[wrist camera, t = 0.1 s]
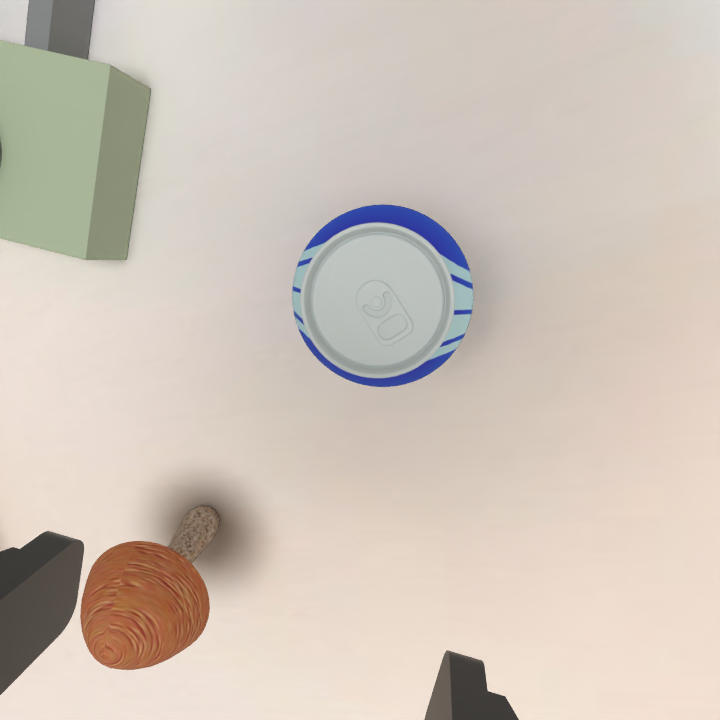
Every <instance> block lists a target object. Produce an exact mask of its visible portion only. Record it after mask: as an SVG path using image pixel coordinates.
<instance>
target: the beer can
mask: <svg viewBox="0 0 720 720" xmlns="http://www.w3.org/2000/svg"><path fill="white" fill-rule="evenodd" d="M292 299H293V309H294V315H295V319H296V323H297V326H298V328H299V331H300V333H301V335H302V338H303V339H304V341H305V343H306V344H307V346H308V347H309V349H310V350H311V352H312V353H313V354H314V355H315V356H316V358H317V359H318V360H319V361H320V362H321V363H323V364H324V365H325V366H326V367H327V368H329V369H330V370H331V371H333V372H334V373H336V374H337V375H339V376H341V377H343V378H345V379H348V380H350V381H353V382H356V383H359V384H363V385H368V386H376V387H390V386H398V385H403V384H407V383H410V382H413V381H416V380H418V379H421V378H423V377H424V376H426V375H428V374H430V373H431V372H433V371H434V370H436V369H437V368H438V367H440V366H441V365H442V364H443V363H444V362H445V361H446V360H447V359H448V358H449V357H450V356H451V355H452V354H453V352H454V351H455V350H456V348H457V347H458V345H459V344H460V342H461V340H462V339H463V337H464V335H465V332H466V330H467V328H468V325H469V321H470V318H471V313H472V307H473V284H472V278H471V273H470V270H469V267H468V264H467V261H466V259H465V257H464V255H463V253H462V251H461V249H460V247H459V246H458V244H457V243H456V242H455V240H454V239H453V238H452V237H451V235H450V234H449V233H448V232H447V231H446V230H445V229H444V228H443V227H442V226H440V225H439V224H438V223H436V222H435V221H434V220H432V219H431V218H429V217H427V216H425V215H423V214H421V213H419V212H417V211H414V210H412V209H409V208H405V207H401V206H394V205H372V206H365V207H361V208H357V209H354V210H352V211H349V212H346V213H344V214H342V215H340V216H338V217H337V218H335V219H334V220H332V221H331V222H329V223H328V224H327V225H325V226H324V227H323V228H322V229H321V230H320V231H319V232H318V233H317V234H316V235H315V236H314V237H313V238H312V240H311V241H310V243H309V244H308V245H307V247H306V249H305V250H304V252H303V254H302V256H301V258H300V260H299V263H298V266H297V269H296V272H295V276H294V282H293V293H292Z"/></svg>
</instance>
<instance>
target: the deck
mask: <svg viewBox="0 0 720 720" xmlns="http://www.w3.org/2000/svg"><path fill="white" fill-rule="evenodd" d="M94 1H95V0H29V5H28V15H27V25H26V35H25V46H23V45H19V44H14V43H10V42H5V41H1V40H0V238H1V239H5V240H9V241H13V242H17V243H21V244H25V245H29V246H33V247H37V248H41V249H44V250H48V251H52V252H56V253H60V254H64V255H68V256H72V257H76V258H80V259H84V260H126V259H127V252H128V245H129V238H130V231H131V224H132V217H133V210H134V204H135V197H136V190H137V183H138V176H139V169H140V162H141V155H142V148H143V141H144V134H145V127H146V120H147V113H148V106H149V99H150V92H151V89H150V88H148V87H147V86H145V85H143V84H142V83H140V82H138V81H137V80H135V79H133V78H132V77H130V76H128V75H126V74H125V73H123V72H121V71H120V70H118V69H116V68H115V67H113V66H111V65H109V64H104V63H100V62H95V61H91V60H88V51H89V43H90V35H91V26H92V18H93V10H94Z"/></svg>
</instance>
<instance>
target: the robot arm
mask: <svg viewBox="0 0 720 720" xmlns="http://www.w3.org/2000/svg"><path fill="white" fill-rule="evenodd" d="M83 554H84V544H83V542H82V541H81V540H77V539H74V538H70V537H67V536H64V535H60V534H57V533H54V532H50V531H46V532H44V533H42V534H41V535H39V536H38V537H36V538H35V539H34V540H32V541H31V542H29V543H28V544H26V545H25V546H24V547H22V548H21V549H17V548H14V547H12V548H10V549H7V550H4V551H1V552H0V695H1V694H2V693H3V692H4V691H5V690H6V689H7V688H8V687H9V686H10V685H11V684H12V683H13V682H14V681H15V680H16V679H17V678H18V677H19V676H20V675H21V674H22V673H23V672H24V670H25V669H26V668H27V667H28V666H29V665H30V664H31V663H32V662H33V661H34V660H35V659H36V658H37V657H38V656H39V655H40V654H41V653H42V652H43V651H44V650H45V649H46V648H47V647H48V646H49V645H50V644H51V643H52V642H53V641H54V640H55V639H56V638H57V637H58V636H59V635H60V634H61V633H62V631H63V630H64V629H65V627H66V626H67V624H68V623H69V621H70V619H71V617H72V615H73V612H74V610H75V607H76V602H77V596H78V589H79V582H80V575H81V568H82V561H83ZM425 720H519V719H518V718H517V716H516V714H515V713H514V711H513V709H512V707H511V706H510V704H509V702H508V701H507V699H506V697H505V696H502V695H499V694H495V693H492V692H489V691H487V683H486V676H485V668H484V663H483V661H481V660H478V659H475V658H471V657H468V656H465V655H461V654H458V653H454V652H451V651H448V650H447V651H446V652H445V654H444V657H443V660H442V663H441V666H440V670H439V673H438V676H437V679H436V683H435V686H434V689H433V692H432V696H431V699H430V702H429V705H428V709H427V712H426V716H425Z"/></svg>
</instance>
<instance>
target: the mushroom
mask: <svg viewBox="0 0 720 720" xmlns="http://www.w3.org/2000/svg"><path fill="white" fill-rule="evenodd" d="M218 518H219V516H218V515H217V512H214V509H211V507H207V506H204V507H203V506H199V507H196V508H194V509H193V510H191V511H190V512H189V513H188V514H186V516H185V518H184V519H183V521H182V523H181V525H180V527H179V528H178V530H177V532H176V534H175V535H174V537H173V539H172V541H171V543H170V544H169V546H168V547H166V546H163V545H160V544H157V543H152V542H145V541H133V542H126V543H122V544H119V545H117V546H114V547H112V548H110V549H109V550H107V551H106V552H104V553H103V554H102V555H101V556H100V557H99V558H98V559H97V561H96V562H95V563H94V565H93V566H92V568H91V571H90V573H89V576H88V579H87V582H86V585H85V589H84V593H83V597H82V604H81V615H80V617H81V626H82V633H83V637H84V640H85V642H86V645H87V647H88V649H89V651H90V653H91V654H92V655H93V657H94V658H95V659H96V660H97V661H98V662H100V663H101V664H103V665H105V666H107V667H109V668H114V669H123V670H134V669H140V668H146V667H150V666H153V665H156V664H158V663H161V662H163V661H165V660H168V659H169V658H171V657H173V656H174V655H176V654H178V653H179V652H181V651H183V650H184V649H185V648H187V647H188V646H190V645H191V644H192V643H193V642H194V641H196V640H197V638H198V637H199V636H200V635H201V633H202V632H203V630H204V628H205V626H206V623H207V620H208V617H209V609H210V607H209V597H208V592H207V589H206V586H205V584H204V581H203V579H202V578H201V576H200V574H199V573H198V571H197V570H196V569H195V568H194V566H193V565H192V564H191V563H192V562H193V561H194V560H195V559H196V557H197V556H198V555H199V554H200V553H201V552H202V550H203V549H204V548H205V547H206V546H207V545H208V544H209V542H210V541H211V540H212V539H213V537H214V535H215V533H216V531H217V528H218V526H219V521H220V520H219V519H218Z"/></svg>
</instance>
